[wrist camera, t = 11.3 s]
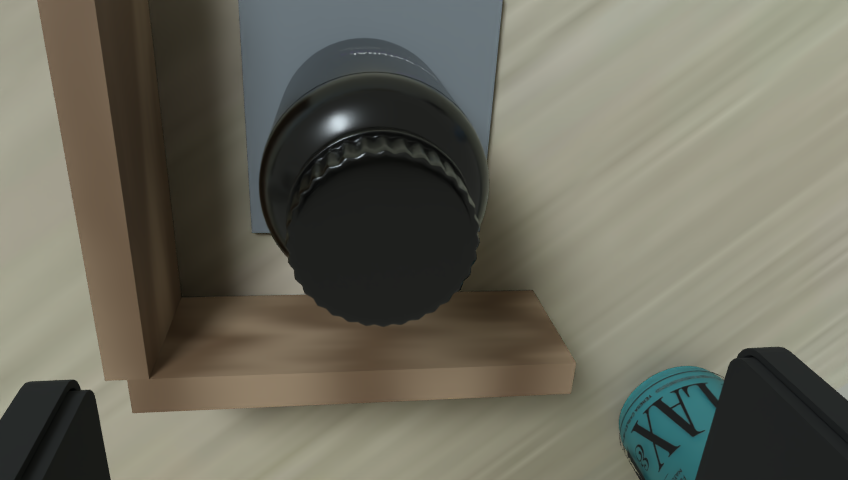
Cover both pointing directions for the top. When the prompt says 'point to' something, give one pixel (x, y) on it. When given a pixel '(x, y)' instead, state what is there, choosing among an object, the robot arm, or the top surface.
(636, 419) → the beverage bottle
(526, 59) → the top surface
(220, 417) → the top surface
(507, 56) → the top surface
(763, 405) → the robot arm
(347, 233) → the supplement bottle
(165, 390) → the wooden corner wall
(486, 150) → the mat
